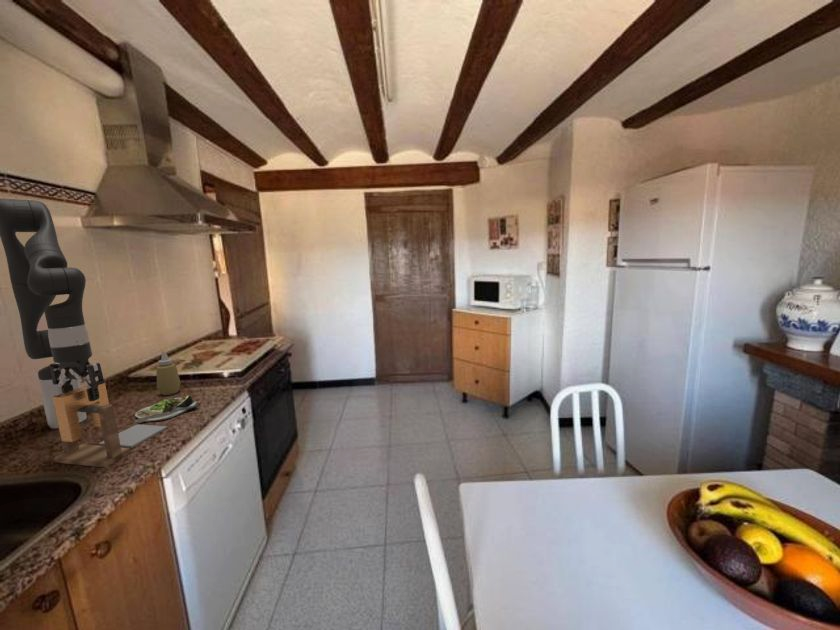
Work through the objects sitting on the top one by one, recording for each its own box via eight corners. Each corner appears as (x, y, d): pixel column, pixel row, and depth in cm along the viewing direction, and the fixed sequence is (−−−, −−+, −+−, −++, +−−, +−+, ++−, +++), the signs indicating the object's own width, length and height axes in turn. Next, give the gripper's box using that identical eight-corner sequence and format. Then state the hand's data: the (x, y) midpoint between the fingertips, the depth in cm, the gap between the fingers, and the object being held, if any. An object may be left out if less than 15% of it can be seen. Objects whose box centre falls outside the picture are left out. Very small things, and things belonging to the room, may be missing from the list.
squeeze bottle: (170, 397, 142) (163, 354, 139) (153, 396, 143) (146, 354, 140) (186, 389, 150) (180, 349, 147) (170, 389, 151) (163, 348, 148)
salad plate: (150, 430, 115) (147, 417, 115) (119, 421, 123) (117, 409, 122) (206, 406, 133) (204, 395, 132) (176, 400, 140) (174, 389, 139)
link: (61, 440, 93) (52, 396, 91) (103, 422, 103) (95, 382, 101) (72, 441, 93) (62, 397, 90) (112, 423, 103) (105, 383, 101)
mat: (99, 444, 106) (98, 443, 106) (137, 425, 118) (136, 424, 118) (132, 447, 104) (131, 445, 104) (167, 428, 116) (167, 426, 116)
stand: (55, 462, 97) (43, 408, 95) (83, 448, 104) (72, 398, 102) (105, 467, 94) (94, 412, 92) (130, 453, 101) (121, 401, 98)
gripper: (32, 345, 91) (45, 403, 94) (75, 346, 89) (87, 406, 91) (65, 338, 98) (76, 393, 101) (106, 339, 96) (117, 395, 99)
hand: (81, 399), depth 96 cm, fingers open, 8 cm apart
